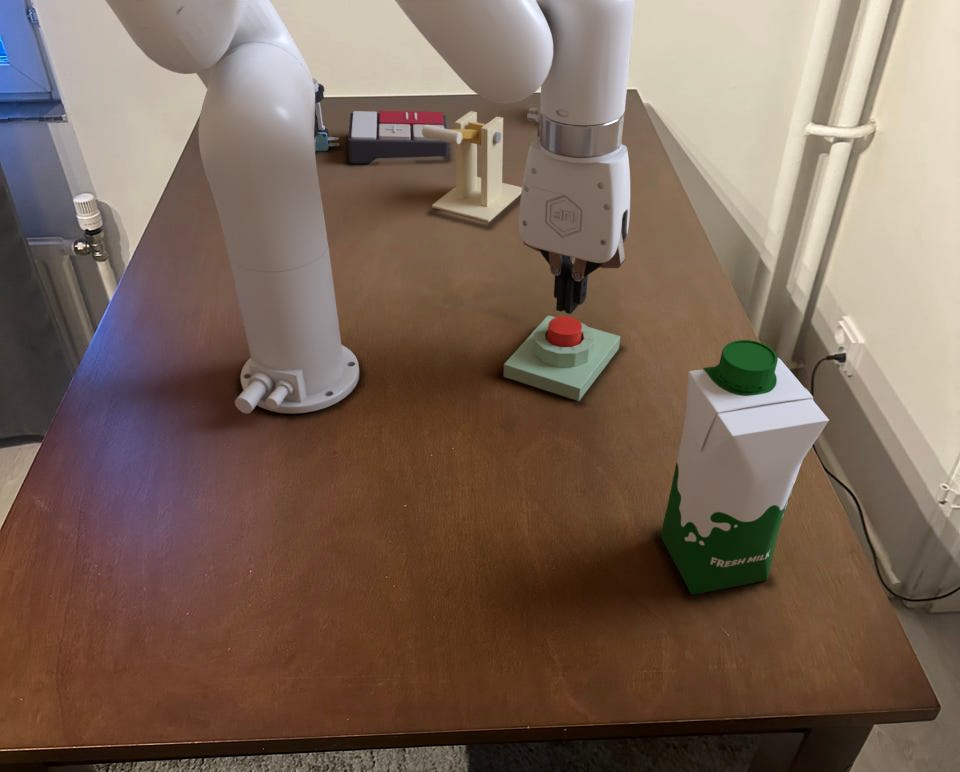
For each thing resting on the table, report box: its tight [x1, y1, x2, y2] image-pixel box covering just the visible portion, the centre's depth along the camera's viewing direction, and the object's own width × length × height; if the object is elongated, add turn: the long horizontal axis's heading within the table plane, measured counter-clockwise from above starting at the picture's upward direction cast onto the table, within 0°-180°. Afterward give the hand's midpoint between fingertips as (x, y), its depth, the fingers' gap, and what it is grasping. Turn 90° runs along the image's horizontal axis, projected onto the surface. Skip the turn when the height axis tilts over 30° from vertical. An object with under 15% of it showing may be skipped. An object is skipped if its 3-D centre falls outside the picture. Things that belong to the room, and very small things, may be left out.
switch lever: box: [422, 121, 487, 146], centre depth 115 cm, size 12×5×2 cm, turn 151°
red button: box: [548, 315, 582, 347], centre depth 96 cm, size 4×4×2 cm
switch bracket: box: [431, 110, 522, 223], centre depth 122 cm, size 11×9×12 cm
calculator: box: [347, 110, 449, 165], centre depth 138 cm, size 11×4×15 cm
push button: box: [312, 77, 340, 152], centre depth 136 cm, size 7×5×10 cm
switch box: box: [503, 315, 621, 402], centre depth 97 cm, size 11×9×4 cm
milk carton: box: [660, 339, 830, 596], centre depth 71 cm, size 9×9×20 cm
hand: (569, 305), depth 94 cm, fingers closed
